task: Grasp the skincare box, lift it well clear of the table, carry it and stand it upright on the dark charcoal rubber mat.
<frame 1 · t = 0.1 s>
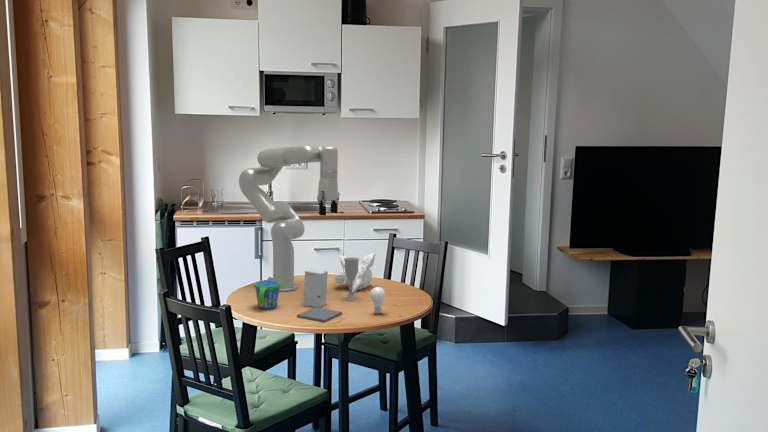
hand: (328, 213, 290), 37 cm above the table, tool pointing down, fingers open, 9 cm apart
skincare box: (315, 305, 279), on the table
white bumpy sculpture: (354, 288, 310), on the table
chalice: (350, 299, 289), on the table
lightbulb: (377, 314, 269), on the table
charcoal mat: (319, 315, 264), on the table
snack cup: (267, 307, 274), on the table
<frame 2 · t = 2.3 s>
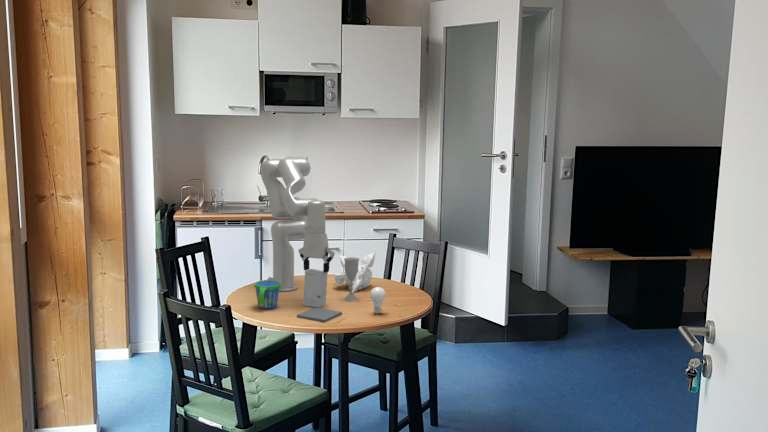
hand: (316, 271, 276), 15 cm above the table, tool pointing down, fingers open, 9 cm apart
skincare box: (315, 305, 279), on the table, touching gripper
everything else where it was.
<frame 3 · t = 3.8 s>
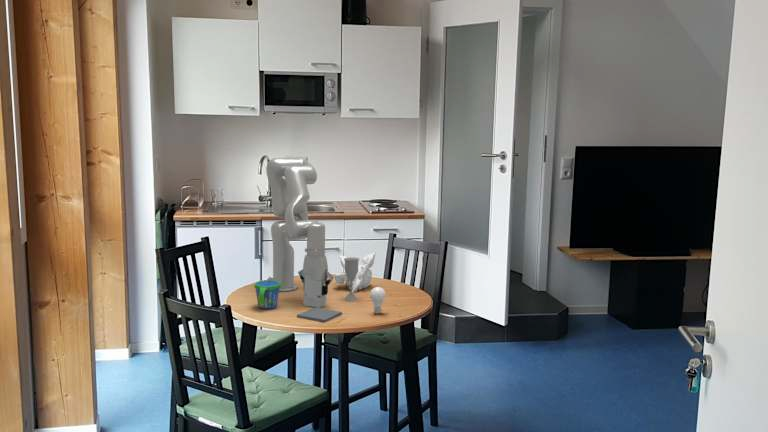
hand: (315, 293, 278), 5 cm above the table, tool pointing down, fingers closed on skincare box, 8 cm apart
skincare box: (315, 305, 279), on the table, touching gripper
everything else where it was.
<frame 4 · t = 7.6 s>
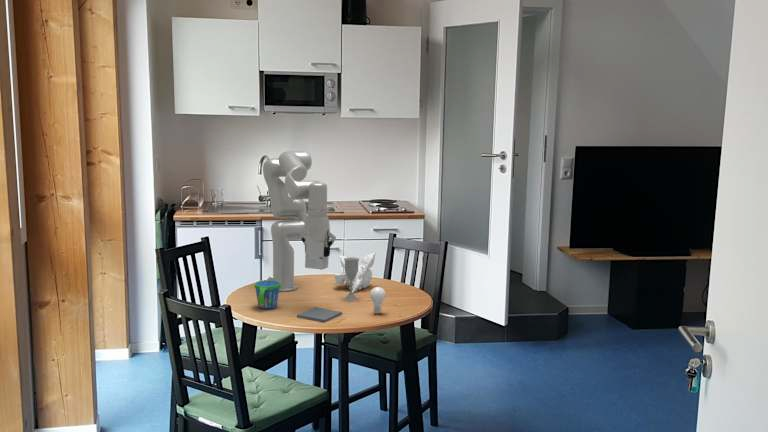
hand: (317, 255, 271), 22 cm above the table, tool pointing down, fingers closed on skincare box, 8 cm apart
skincare box: (317, 268, 272), point 17 cm above the table, touching gripper
everything else where it was.
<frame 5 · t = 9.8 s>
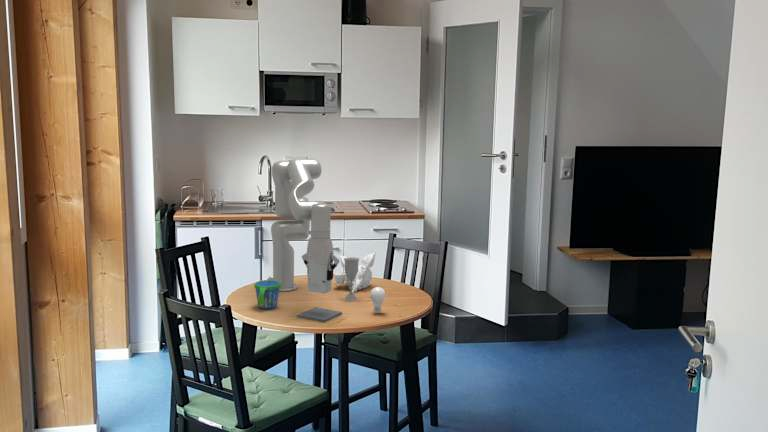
hand: (320, 278, 262), 15 cm above the table, tool pointing down, fingers closed on skincare box, 8 cm apart
skincare box: (320, 291, 262), point 10 cm above the table, touching gripper
everything else where it was.
when the fingers open (7 cm above the table, at t = 11.8 s): skincare box drops 1 cm, resting on charcoal mat.
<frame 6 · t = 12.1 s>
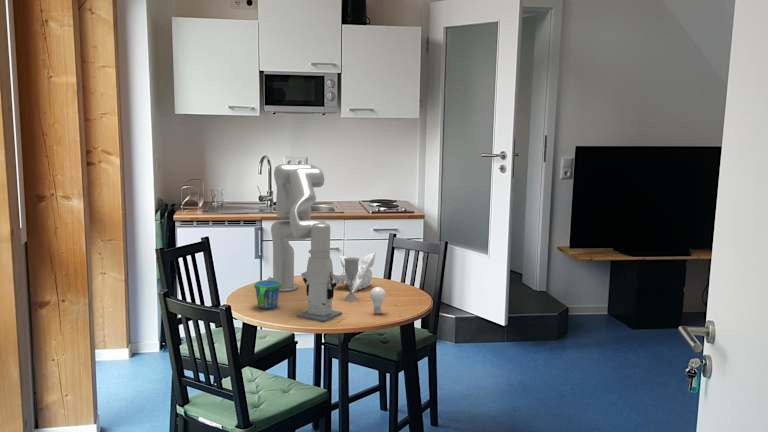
hand: (319, 296, 263), 8 cm above the table, tool pointing down, fingers open, 9 cm apart
skincare box: (320, 313, 264), point 1 cm above the table, touching charcoal mat
everything else where it was.
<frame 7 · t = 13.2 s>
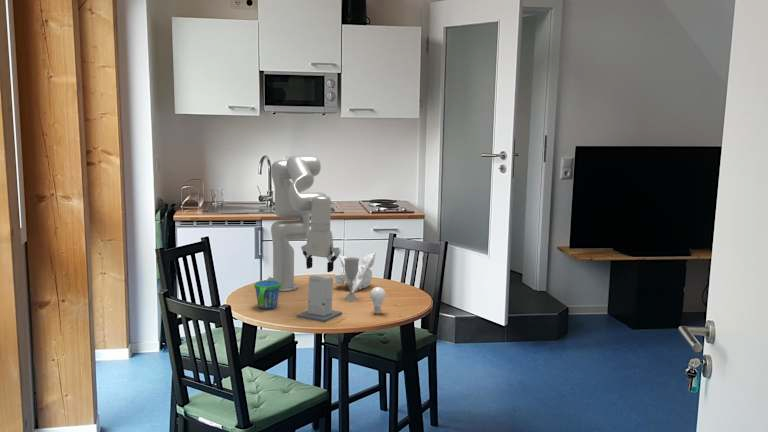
hand: (319, 269, 262), 19 cm above the table, tool pointing down, fingers open, 9 cm apart
nothing on the table moved.
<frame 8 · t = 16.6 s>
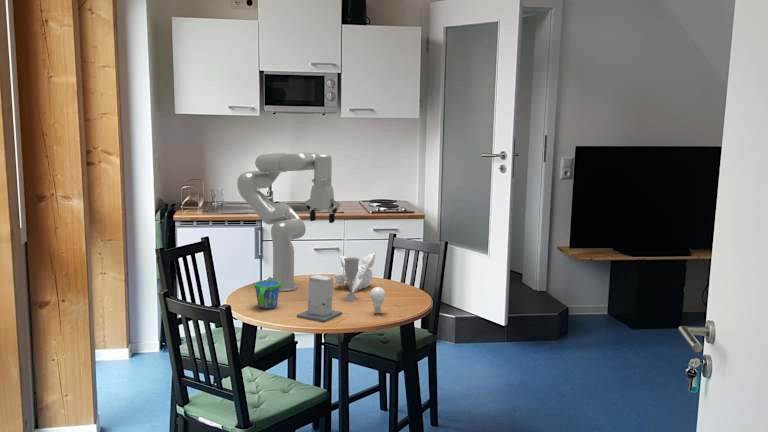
hand: (322, 221, 289), 33 cm above the table, tool pointing down, fingers open, 9 cm apart
nothing on the table moved.
at the end: skincare box inside the target area on the charcoal mat (0.2 cm from its centre), point 0.8 cm above the charcoal mat's base; skincare box tilted 0°; the gripper is holding nothing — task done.
